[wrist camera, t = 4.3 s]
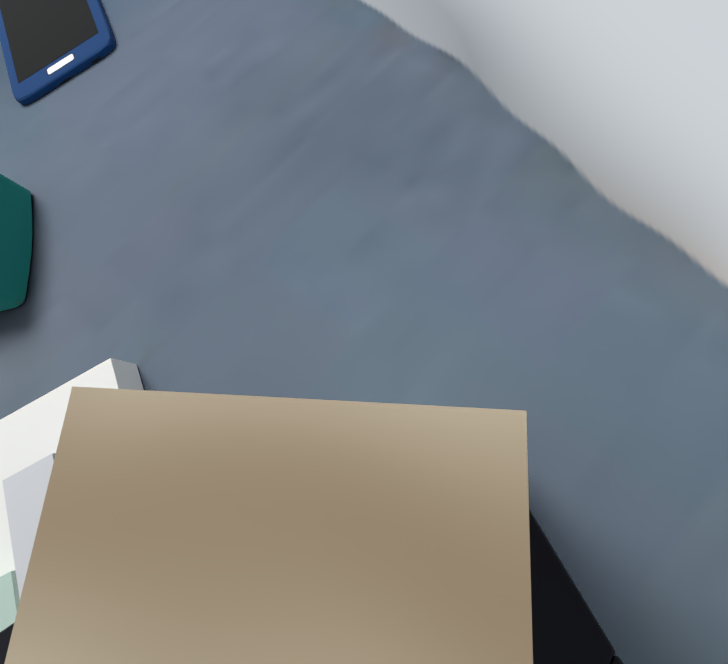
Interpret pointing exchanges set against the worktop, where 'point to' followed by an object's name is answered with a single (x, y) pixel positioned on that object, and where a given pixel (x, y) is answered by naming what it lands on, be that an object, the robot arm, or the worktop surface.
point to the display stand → (37, 471)
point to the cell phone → (51, 42)
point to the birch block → (279, 534)
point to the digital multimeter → (14, 242)
